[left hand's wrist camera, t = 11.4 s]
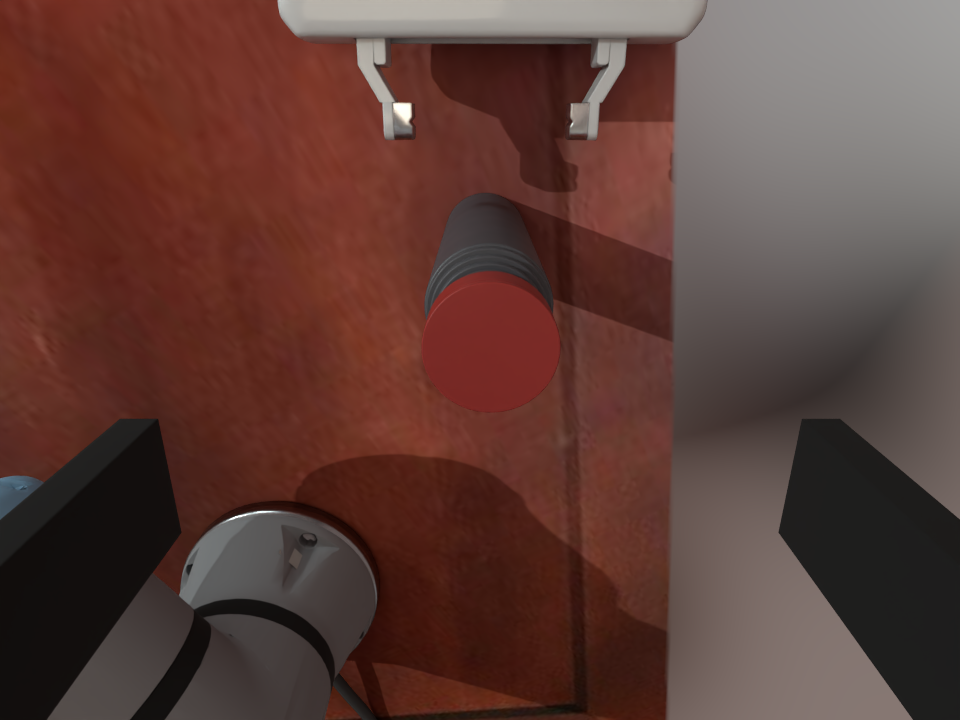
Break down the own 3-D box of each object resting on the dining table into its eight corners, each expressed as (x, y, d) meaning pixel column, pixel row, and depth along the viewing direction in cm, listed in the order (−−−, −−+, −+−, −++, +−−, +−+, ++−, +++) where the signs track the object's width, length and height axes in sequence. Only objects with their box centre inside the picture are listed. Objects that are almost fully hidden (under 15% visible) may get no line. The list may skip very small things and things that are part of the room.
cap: (494, 416, 23) (495, 437, 22) (398, 339, 22) (393, 355, 21) (582, 329, 22) (589, 344, 20) (485, 242, 21) (485, 252, 19)
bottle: (488, 287, 42) (496, 442, 22) (429, 236, 41) (381, 351, 21) (540, 229, 41) (600, 339, 21) (482, 175, 40) (484, 236, 20)
